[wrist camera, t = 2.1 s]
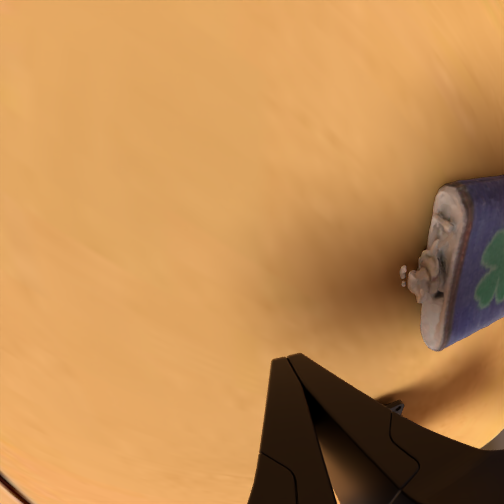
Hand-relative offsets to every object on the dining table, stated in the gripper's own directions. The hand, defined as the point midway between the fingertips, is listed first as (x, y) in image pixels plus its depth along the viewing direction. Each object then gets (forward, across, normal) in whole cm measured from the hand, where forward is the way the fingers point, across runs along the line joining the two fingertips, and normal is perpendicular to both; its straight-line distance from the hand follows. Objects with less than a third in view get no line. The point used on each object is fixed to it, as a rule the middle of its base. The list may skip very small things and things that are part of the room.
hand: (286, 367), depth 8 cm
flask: (+6, -17, 0) cm, 18 cm away
